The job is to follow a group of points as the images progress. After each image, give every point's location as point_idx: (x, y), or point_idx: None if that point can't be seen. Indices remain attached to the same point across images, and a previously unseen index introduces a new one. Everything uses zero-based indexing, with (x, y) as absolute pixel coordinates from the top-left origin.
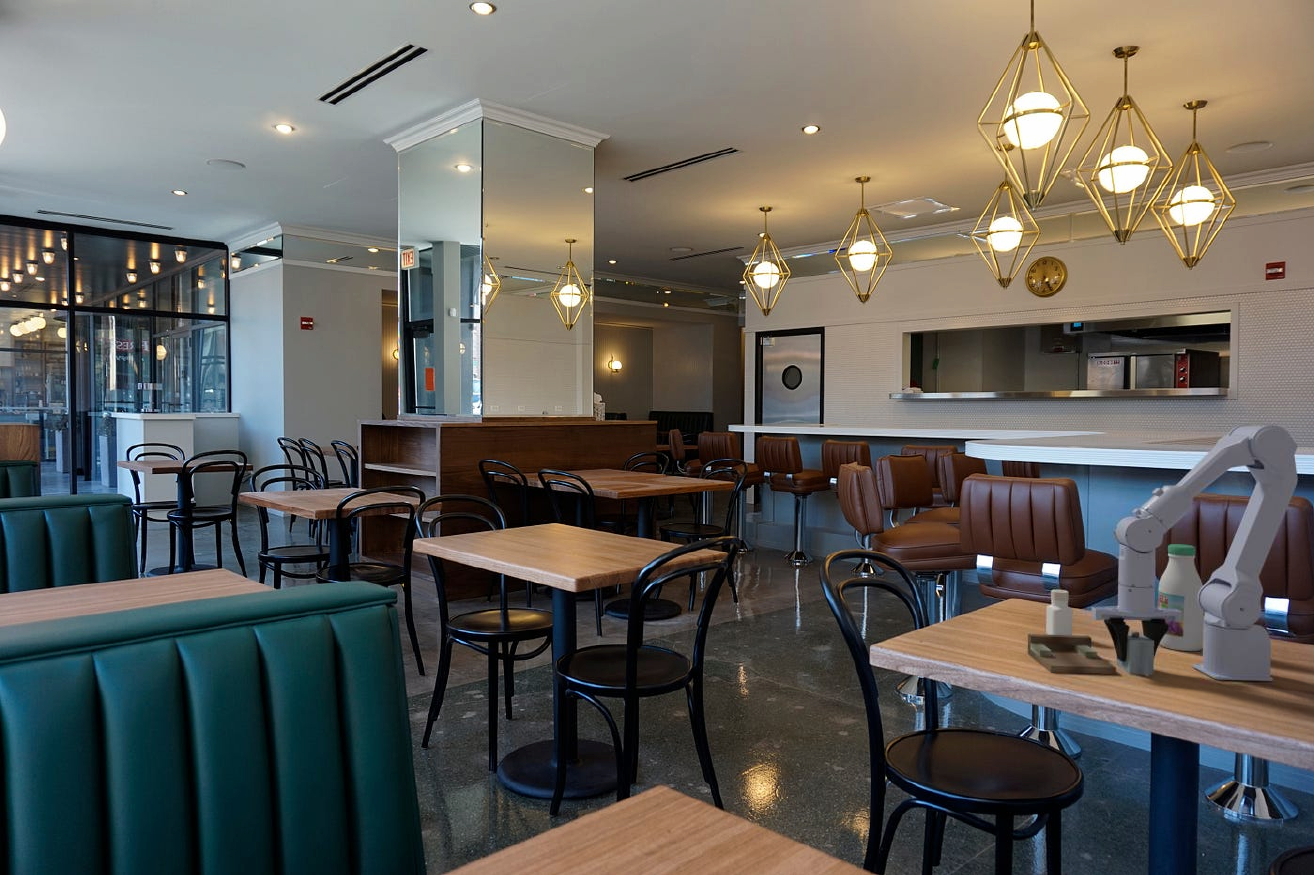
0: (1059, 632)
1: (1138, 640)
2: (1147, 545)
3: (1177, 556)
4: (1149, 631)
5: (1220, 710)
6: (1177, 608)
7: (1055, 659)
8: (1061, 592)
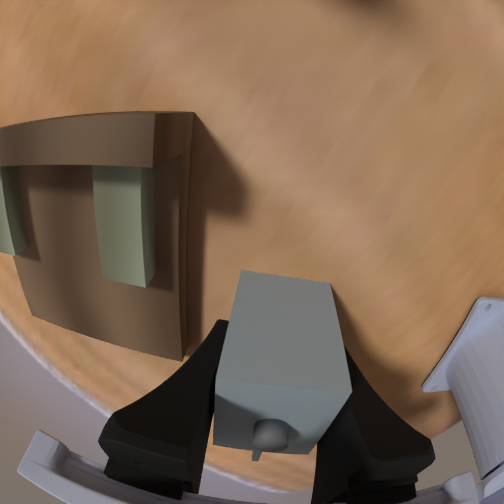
0: None
1: (247, 449)
2: None
3: None
4: (330, 459)
5: (274, 466)
6: None
7: (37, 270)
8: None
